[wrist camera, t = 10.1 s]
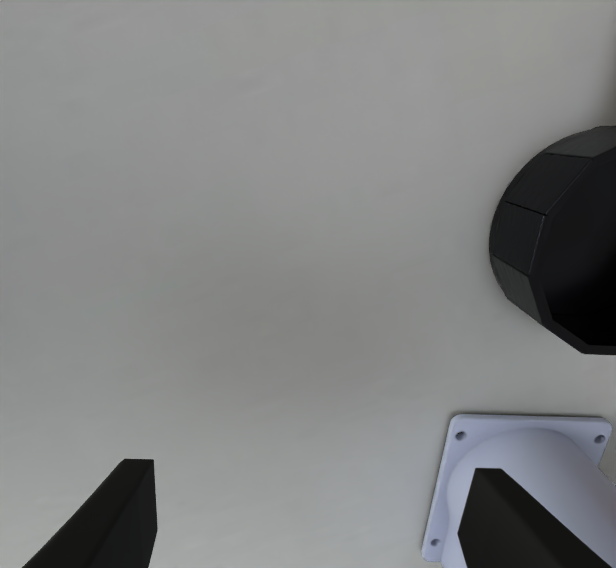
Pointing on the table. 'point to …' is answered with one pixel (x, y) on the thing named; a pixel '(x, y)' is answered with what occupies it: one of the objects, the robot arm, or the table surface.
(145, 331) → the table surface
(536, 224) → the pan
